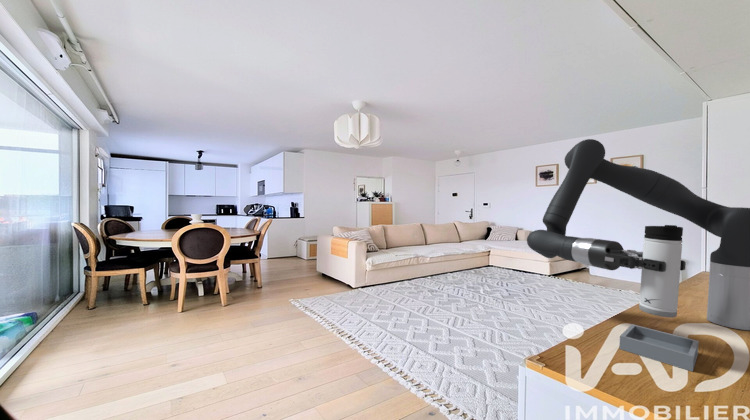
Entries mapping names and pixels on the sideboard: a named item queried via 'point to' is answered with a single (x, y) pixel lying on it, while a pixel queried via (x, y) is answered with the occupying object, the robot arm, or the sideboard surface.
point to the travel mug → (656, 285)
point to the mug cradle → (660, 346)
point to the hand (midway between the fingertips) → (674, 266)
